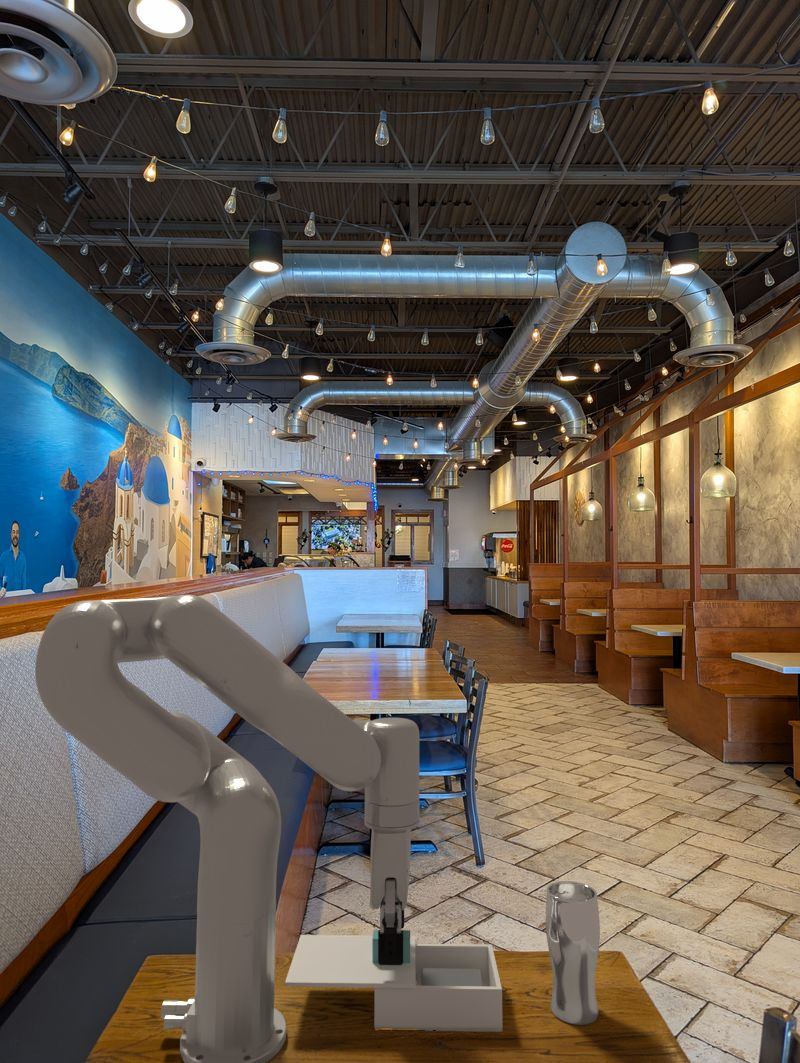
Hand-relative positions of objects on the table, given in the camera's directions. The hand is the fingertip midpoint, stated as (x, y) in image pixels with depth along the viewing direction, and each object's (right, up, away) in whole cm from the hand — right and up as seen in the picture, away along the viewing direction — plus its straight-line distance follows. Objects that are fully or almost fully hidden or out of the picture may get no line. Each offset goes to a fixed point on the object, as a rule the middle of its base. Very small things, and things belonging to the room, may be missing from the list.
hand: (391, 944), depth 90 cm
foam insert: (+8, -7, -1) cm, 11 cm away
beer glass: (+24, -8, -2) cm, 25 cm away
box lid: (-5, -2, 0) cm, 5 cm away
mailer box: (+6, -7, -1) cm, 10 cm away
